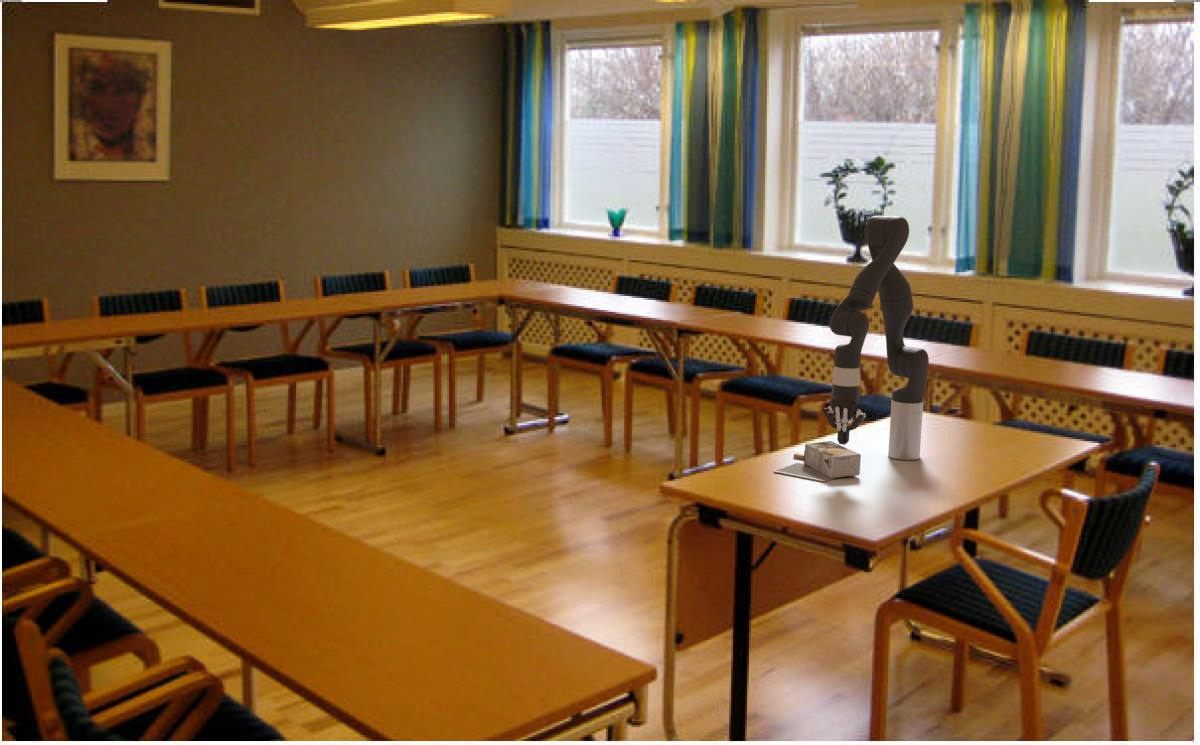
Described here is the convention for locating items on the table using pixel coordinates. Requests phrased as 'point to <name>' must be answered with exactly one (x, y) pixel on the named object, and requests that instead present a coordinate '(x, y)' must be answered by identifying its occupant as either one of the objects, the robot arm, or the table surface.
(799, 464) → the mat
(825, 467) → the coffee box
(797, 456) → the walnut turner
